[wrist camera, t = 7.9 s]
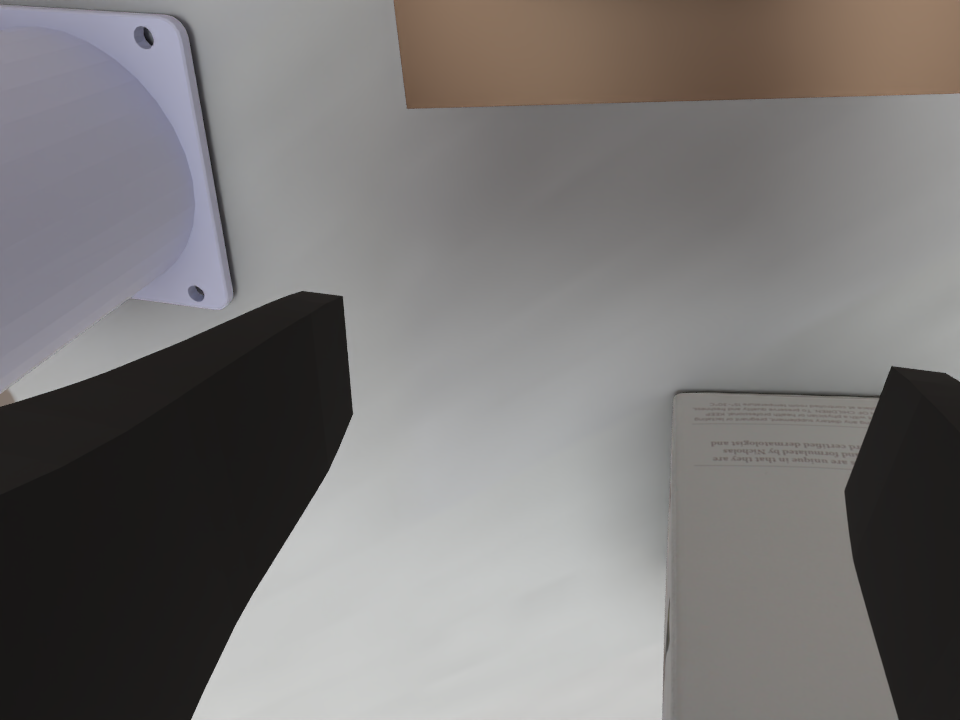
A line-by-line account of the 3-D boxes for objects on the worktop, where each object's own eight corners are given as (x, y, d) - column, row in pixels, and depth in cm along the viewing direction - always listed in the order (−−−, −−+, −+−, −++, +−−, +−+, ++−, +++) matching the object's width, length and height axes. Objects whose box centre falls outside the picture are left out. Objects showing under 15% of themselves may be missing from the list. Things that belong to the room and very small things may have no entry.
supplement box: (668, 384, 21) (661, 885, 10) (968, 394, 19) (1330, 1013, 8) (662, 572, 24) (653, 1078, 14) (911, 595, 23) (1114, 1194, 12)
